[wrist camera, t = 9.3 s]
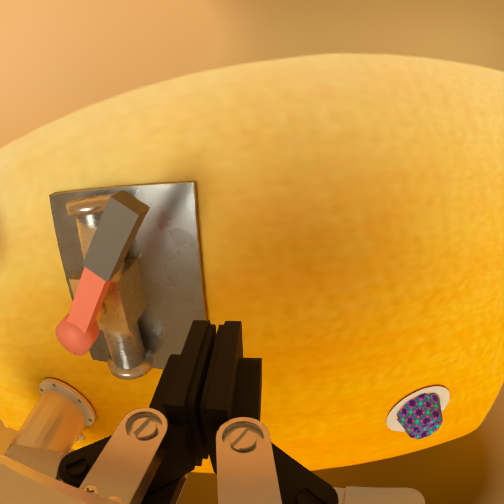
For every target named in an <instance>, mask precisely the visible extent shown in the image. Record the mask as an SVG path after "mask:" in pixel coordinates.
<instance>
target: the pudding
mask: <svg viewBox="0 0 504 504" xmlns="http://www.w3.org/2000/svg"><path fill="white" fill-rule="evenodd" d="M427 392H434V393H430V394H426V393H427ZM423 393H424V394H423ZM436 393H437V394H438V395H439V397H440V399H439V397H437V394H436ZM420 394H421V395H420ZM417 395H418V396H417ZM415 396H417V397H416V398H415V399H412V398H413V397H415ZM449 398H450V393H449V391H448V390H447V389H446V388H444V387H441V386H434V387H428V388H424V389H422V390H419V391H417V392H415V393H413V394H411V395H409V396H408V397H406V398H405V399H403V400H402V401H401V402H399V403H398V404H397V405H396V406H395V407H394V408H393V409H392V410H391V412H390V413H389V415H388V417H387V426H388V427H389V428H390V429H391V430H394V431H406V432H407V434H408V435H409V436H410V437H411V438H416V439H421V438H423V437H427V436H429V435H431V434H432V433H433V432H435V431H437V430H438V428H439V426H440V425H441V424H442V411H443V410H444V409H445V407H446V406H447V404H448V402H449ZM410 399H411V400H410ZM408 400H409V401H408ZM404 403H405V404H404ZM403 404H404V406H403V408H402V409H400V407H401V406H402V405H403ZM399 409H400V410H399ZM398 410H399V411H398ZM397 412H398V413H397ZM396 414H397V416H398V417H399V418H398V419H397V420H398V421H397V420H396Z"/></svg>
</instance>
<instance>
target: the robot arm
mask: <svg viewBox="0 0 504 504" xmlns="http://www.w3.org/2000/svg"><path fill="white" fill-rule="evenodd" d="M261 388H262V358H243V345H242V325H241V321H225V324H224V325H219V327H218V331H217V334H216V326H215V325H212V324H210V321H209V320H193V322H192V325H191V328H190V330H189V333H188V336H187V338H186V341H185V344H184V347H183V349H182V352H181V355H179V354H171V355H170V356H169V358H168V361H167V363H166V366H165V368H164V371H163V373H162V376H161V378H160V381H159V383H158V386H157V388H156V391H155V393H154V396H153V399H152V401H151V404H150V406H149V408H139V409H136V410H133V411H131V412H130V413H128V414H127V415H126V416H125V417H124V418H123V419H122V421H121V422H120V424H119V426H118V427H117V429H116V430H115V432H114V433H113V435H111V436H109V437H107V438H104V439H102V440H100V441H97V442H95V443H93V444H90V445H88V446H85V447H83V448H80V449H78V450H75V451H73V452H71V453H69V452H70V450H71V448H72V446H73V444H74V442H75V441H77V440H78V439H80V440H84V439H85V436H84V434H83V433H82V431H83V429H84V427H85V426H90V425H92V424H93V423H94V421H95V419H96V415H95V411H94V409H93V408H92V406H91V405H90V403H89V402H88V401H87V400H86V399H85V398H84V397H83V396H82V395H81V394H80V393H79V392H78V391H76V390H75V389H74V388H72V387H71V386H69V385H67V384H66V383H64V382H61V381H59V380H56V379H52V378H45V379H43V380H42V381H41V383H40V385H39V392H40V394H41V397H40V399H39V400H38V402H37V403H36V405H35V406H34V408H33V409H32V411H31V412H30V414H29V415H28V417H27V418H26V420H25V422H24V423H23V425H22V426H21V428H20V429H19V431H18V433H17V434H16V436H15V437H14V439H13V441H12V442H11V444H10V445H9V447H8V449H7V451H6V453H5V455H4V456H3V455H1V454H0V504H176V502H177V500H178V498H179V495H180V493H181V491H182V488H183V486H184V483H185V481H186V477H187V473H189V472H190V471H192V470H194V468H195V466H201V464H202V459H208V456H209V455H210V459H211V463H212V467H213V470H214V472H215V473H216V474H217V481H218V503H219V504H425V501H424V497H423V496H422V494H421V493H420V492H419V491H417V490H415V489H411V488H368V487H367V488H366V487H350V486H347V487H346V488H335V487H332V486H331V485H330V484H328V483H327V482H325V481H324V480H322V479H321V478H319V477H318V476H316V475H315V474H314V473H312V472H311V471H309V470H308V469H306V468H305V467H304V466H302V465H301V464H299V463H298V462H297V461H295V460H294V459H293V458H291V457H290V456H289V455H287V454H286V453H285V452H283V451H282V450H281V449H279V448H278V447H277V446H275V445H274V444H273V443H271V439H270V434H269V431H268V429H267V427H266V426H265V425H264V424H263V423H261V422H260V412H261Z"/></svg>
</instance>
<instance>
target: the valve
mask: <svg viewBox="0 0 504 504" xmlns="http://www.w3.org/2000/svg"><path fill="white" fill-rule="evenodd" d="M122 190H124V191H126V192H127V193H129V194H131V195H132V196H134V197H135V198H137V199H138V200H140V201H141V202H143V203H145V204H146V205H148V206H149V207H150V209H149V211H148V212H147V214H146V216H145V218H144V220H143V222H142V224H141V226H140V228H139V230H138V232H137V234H136V236H135V238H134V240H133V242H132V244H131V246H130V248H129V250H128V253H127V255H126V257H125V259H124V261H123V263H122V265H121V268H120V270H119V271H118V272H117V273H116V274H115V275H114V277H113V279H112V282H111V284H110V286H109V289H108V291H107V293H106V296H105V298H104V300H103V303H102V305H101V308H100V310H99V313H98V315H97V318H96V320H95V321H96V322H97V324H98V326H99V336H98V338H97V339H96V341H95V342H94V343H93V345H92V346H91V348H90V349H89V351H90V353H91V356H92V358H93V360H99V361H105V362H107V363H108V366H109V369H110V371H111V373H112V374H113V375H114V376H116V377H118V378H120V379H136V378H139V377H141V376H143V375H145V374H146V373H148V372H149V371H150V370H151V368H157V369H164V368H165V366H166V363H167V361H168V358H169V356H170V355H171V354H179V355H181V352H182V349H183V347H184V344H185V341H186V338H187V336H188V333H189V330H190V328H191V325H192V322H193V320H207V312H206V303H205V293H204V283H203V272H202V261H201V249H200V237H199V224H198V209H197V194H196V181H187V182H168V183H152V184H137V185H125V186H113V187H102V188H92V189H83V190H74V191H65V192H57V193H53V194H50V195H49V197H50V203H51V209H52V215H53V221H54V226H55V231H56V236H57V241H58V246H59V250H60V255H61V259H62V263H63V267H64V271H65V275H66V279H67V283H68V286H69V290H70V293H71V297H72V300H74V297H75V293H76V290H77V287H78V284H79V281H80V278H81V276H82V273H83V270H84V266H83V262H84V259H85V257H86V254H87V251H88V248H89V246H90V243H91V241H92V238H93V236H94V233H95V231H96V228H97V226H98V223H99V221H100V218H101V216H102V214H103V211H104V209H105V207H106V204H107V202H108V200H109V198H110V196H112V195H114V194H116V193H118V192H120V191H122Z"/></svg>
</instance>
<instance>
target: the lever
mask: <svg viewBox="0 0 504 504" xmlns="http://www.w3.org/2000/svg"><path fill="white" fill-rule="evenodd" d="M149 209H150V207H149V206H148V205H146V204H145V203H143V202H141V201H140V200H138V199H137V198H135V197H134V196H132V195H131V194H129V193H127V192H126V191H124V190H122V191H120V192H118V193H116V194H114V195H112V196H110V198H109V200H108V202H107V204H106V207H105V209H104V211H103V214H102V216H101V218H100V221H99V223H98V226H97V228H96V231H95V233H94V236H93V238H92V241H91V243H90V246H89V248H88V251H87V254H86V257H85V259H84V262H83V266H84V270H83V273H82V276H81V278H80V281H79V284H78V287H77V290H76V293H75V297H74V300H73V303H72V306H71V309H70V312H69V313H68V315H67V316H66V317H65V318H64V319H63V320H62V321H61V322H60V323H59V324H58V326H57V327H56V335H57V338H58V340H59V342H60V343H61V345H62V346H63V347H64V348H65V349H66V350H68V351H69V352H71V353H73V354H75V355H80V356H81V355H85V354H86V353H87V352H88V350H89V349H90V348H91V346H92V345H93V343H94V342H95V341H96V339H97V338H98V336H99V326H98V324H97V322H96V321H95V320H96V318H97V315H98V313H99V310H100V308H101V305H102V303H103V300H104V298H105V296H106V293H107V291H108V289H109V286H110V284H111V282H112V279H113V277H114V275H115V274H116V273H117V272H118V271H119V270H120V268H121V265H122V263H123V261H124V259H125V257H126V255H127V253H128V250H129V248H130V246H131V244H132V242H133V240H134V238H135V236H136V234H137V232H138V230H139V228H140V226H141V224H142V222H143V220H144V218H145V216H146V214H147V212H148V211H149Z"/></svg>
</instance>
